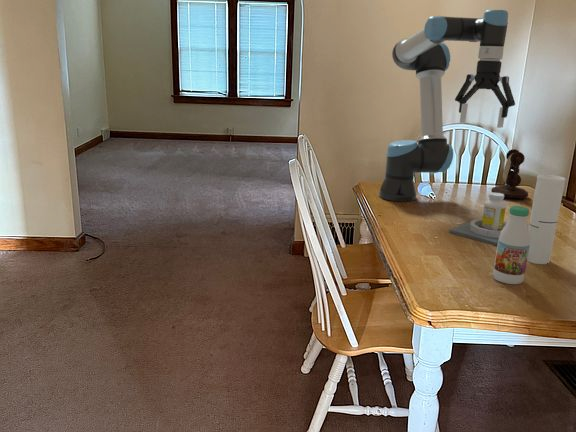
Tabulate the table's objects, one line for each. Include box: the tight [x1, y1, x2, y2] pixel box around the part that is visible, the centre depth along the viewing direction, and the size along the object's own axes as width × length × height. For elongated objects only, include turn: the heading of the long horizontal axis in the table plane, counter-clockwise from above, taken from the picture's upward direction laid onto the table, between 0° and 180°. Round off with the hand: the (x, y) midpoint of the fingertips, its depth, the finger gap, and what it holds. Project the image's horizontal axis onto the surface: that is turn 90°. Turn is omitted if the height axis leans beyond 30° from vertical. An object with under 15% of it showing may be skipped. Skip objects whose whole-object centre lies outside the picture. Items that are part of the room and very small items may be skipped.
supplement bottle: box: [481, 192, 507, 231], centre depth 175 cm, size 7×7×13 cm
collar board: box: [448, 218, 507, 247], centre depth 177 cm, size 20×20×3 cm
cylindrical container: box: [527, 174, 566, 265], centre depth 152 cm, size 7×7×25 cm
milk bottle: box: [492, 205, 530, 285], centre depth 138 cm, size 8×8×20 cm
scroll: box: [490, 148, 529, 201], centre depth 224 cm, size 15×15×20 cm
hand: (480, 125), depth 179 cm, fingers open, 13 cm apart
